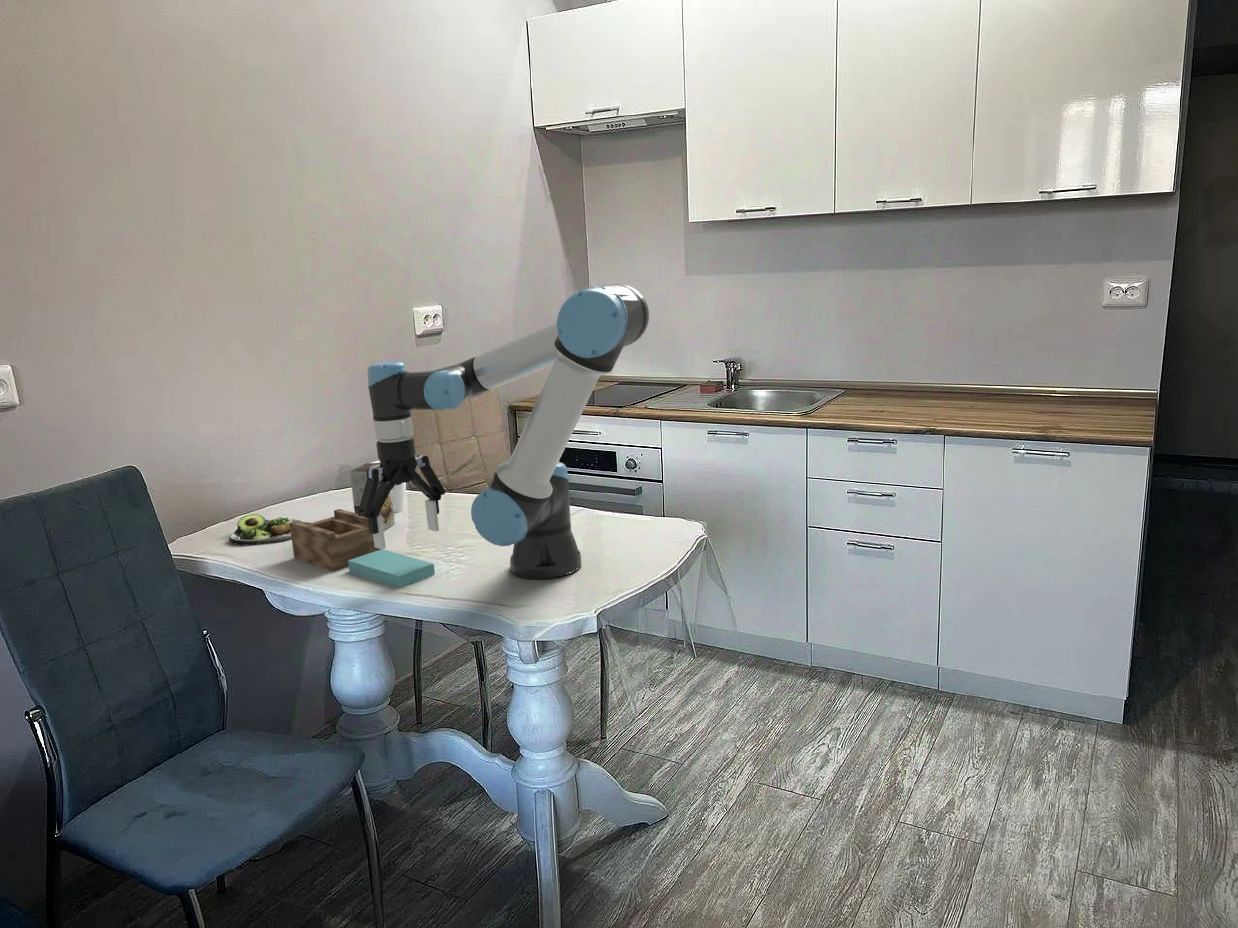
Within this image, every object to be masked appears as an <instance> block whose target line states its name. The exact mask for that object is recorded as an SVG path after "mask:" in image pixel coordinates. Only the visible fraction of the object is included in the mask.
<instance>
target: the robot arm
mask: <svg viewBox="0 0 1238 928" xmlns="http://www.w3.org/2000/svg"><path fill="white" fill-rule="evenodd" d="M556 318H557V319H556V322H553V323H551V324H549V325H546V326H543V327H542V328H539V329H537V330H534V331H532V332H530V333H527V334H525V335H523V336H521V337H518V338H515V339H513V340H511V341H509V342H506V343H504V344H502V345H500V346H497V347H495V348H493V349H490V350H488V351H486V352H483V353H481V354H479V355H476V356H473V357H471V358H469V359H467V360H463V361H461V362H460V363H456V364H453V365H449V366H444V367H441V368H437V369H434V370H428V371H427V370H426V371H414V372H413V371H407V368H406V365H405V363H404V362H403V361H384V362H383V361H382V362H378V363H373V364H371V365H369V366H368V368H367V381H368V385H367V388H368V391H369V393H368V394H369V398H370V402H371V403H370V404H371V409H372V420H373V427H374V435H375V439H376V440H378V441H377V442H376V450H377V452H376V453H377V458H378V461H379V460H380V467H379V468H368V469H367V480H366V484H365V488H364V492H363V495H362V499H361V503H360V506H359V510H358V516H361V517H365V518H367V519H368V524H369V531H370V533H372V534H373V538H374V545H375V547H376V548H380V549H384V550H386V547H387V546H386V541H385V533H384V531H383V524H382V517H378V515H379V513H380V511H381V509H382V507H383V505H384V503H385V501H386V499H387V497H388V495H389V493H390V491H391V489H393V488H394V486H395V485H400V484H402V483H406V484H407V483H410V482H411V484H413V485H414V486H415V487H416V488H417V489H418V490H419V491H420V492H422V494H423V495H424V496H425V497H427V499H424V503H425V513H426V515H425V516H426V523H427V527H428V528H427V530H429V531H433V532H438V531H440V529H439V528H440V526H439V517H438V515H439V514H440V507H439V501H441V500H442V495H443V496H444V495H445V494H446V489H445V488H444V486H443V484H442V483H441V482H440V480H439V477H438V476H437V474H436V473H435V471H434V469H433V468H432V466H431V462H430V459H429V456H428V455H423V454H418V455H416V454H417V452H416V445H415V438H414V437H412V436H413V435H414V427H413V420H412V414H411V413H412V411H414V410H417V411H418V410H419V411H420V410H421V411H422V410H423V411H426V410H427V411H428V410H430V411H431V410H432V411H435V410H436V411H439V412H441V411H445V410H455V409H457V408H459V406H460V405H461V403H463V402H464V401H465V400H468V399H474V398H477V397H480V396H481V395H483V394H484V393H486V392H488V391H490V390H494V389H497V388H498V387H501V386H503V385H506V384H508V383H510V382H511V383H512V382H513V381H516V380H518V379H520V378H523V377H526V376H528V375H531V374H533V373H535V372H539V371H541V370H543V369H546V368H549V367H551V366H552V367H551V369H550V371H549V374H548V375H547V377H546V380H545V382H544V384H543V386H542V389H541V391H540V393H539V395H538V397H537V399H536V400H535V401H536V402H535V404H534V406H533V408H532V410H531V413H530V414H529V417H528V419H527V421H526V423H525V425H524V428H523V429H522V432H521V434H520V436H519V439H518V440H517V443H516V445H515V447H514V449H513V451H512V454H511V456H510V458H509V459H508V460H509V461H506V462H503V463H500V464H499V465H498V466H497V468H496V470H495V472H494V474H493V476H492V478H491V481H490V483H489V484H488V487H487V488H486V489H484V490H482V491H481V492H479V494H478V495H477V496H476V497H475V498H474V500H473V501H472V504H471V509H470V511H471V512H470V513H471V514H470V516H471V520H472V522H473V524H474V526H475V529H476V531H477V533H478V534H479V536H480V537H482V538H483V539H484V540H485V541H486V542H488V543H489V544H490V543H491V544H492V545H495V546H498V547H509V546H512V545H513V548H512V549H513V550H512V554H511V556H510V558H509V563H510V565H509V566H510V567H509V569H510V573H512V575H515V576H517V577H520V578H523V579H529V580H542V579H543V580H545V578H548V579H553V577H556V578H559V577H558V576H561V575H565V574H567V573H569V572H572V571H574V570H576V569H577V568H579V567H580V565H581V563H582V554H581V552H580V550H579V548H578V545H577V542H576V540H575V537H574V534H573V532H572V522H571V508H570V507H571V504H570V503H571V501H570V488H569V487H570V486H569V481H570V480H569V479H570V478H569V475H568V468H567V466H566V464H565V463H564V462H560V459H561V458H562V455H563V454H564V452H565V449H566V448H567V445H568V443H569V440H570V439H571V437H572V434H573V433H574V431H575V428H576V426H577V424H578V422H579V420H580V419H581V416H582V414H583V413H584V412H583V411H584V410H585V408H586V406H587V404H588V401H590V400H589V399H590V397H591V395H592V393H593V392H594V389H595V387H596V385H597V384H598V381H599V378H600V377H601V376H604V375H608V374H610V373H612V371H613V369H614V367H615V365H616V363H617V361H618V359H619V358H620V355H621V353H622V351H623V349H624V347H627V346H630V345H632V344H634V343H635V342H637V341H638V340H639V339H641V337H642V336H643V335H644V334H645V332H646V330H647V328H648V325H649V321H650V310H649V305H648V304H647V302H646V299H645V297H644V296H643V295H642V294H641V293H640V292H639V291H638V290H637V289H635V288H634V287H632V286H629V285H627V284H621V283H617V284H615V283H613V284H609V285H602V286H589V287H586V288H582V289H581V290H578V291H577V292H575V293H573V294H572V295H570V296H569V297H568V298H567V299H566V300H565V301H564V302H563V303H562V305H561V307H560V309H559V311H558V314H557V317H556ZM415 455H416V457H415ZM417 467H418V468H419V470H420V472H421V474H422V475H423V477H424V478H425V480H426V481H427V482H426V481H425V480H424V479H422V476H421V475H420V474H419V473H418V472H417V471H416V469H417ZM381 475H382V476H383V477H382V479H381V481H380V483H379V485H380V486H379V488H378V490H377V487H378V482H379V478H380V477H381ZM387 481H388V482H389V483H387ZM376 490H377V492H376ZM581 566H582V565H581ZM580 568H581V567H580ZM580 568H579V569H580ZM565 576H566V575H565ZM561 577H562V576H561Z"/></svg>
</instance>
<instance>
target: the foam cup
mask: <svg viewBox="0 0 1238 928" xmlns="http://www.w3.org/2000/svg"><path fill="white" fill-rule="evenodd" d="M371 463H380V460H379V459H378V460H376V461H372V462H371ZM406 487H407V483H402V484H400V485H395V486H394V488H393V489H391V491H392V501H393V510H394V514H395V513H400V512H403V511H404V510H405V509H406V493H407V490H406V489H407V488H406Z"/></svg>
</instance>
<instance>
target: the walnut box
mask: <svg viewBox="0 0 1238 928" xmlns="http://www.w3.org/2000/svg"><path fill="white" fill-rule="evenodd" d="M309 523H310V524H304V523H301V522H297V521H294V522H290V531H291V543H292V552H293V558H294V559H295V560H298V561H302V562H305V563H308V564H311V565H314V566H316V567H320V568H322V569H326V570H329V571H331V572H336V571H339V570H342V569H344V568H349V565H348V560H351V559H354V558H357V557H360V556H363V555H366V554H369V553H372V552H375V551H378V550H381V549H380V548H376V547H375V545H374V538H373V534H372V533H370V531H369V524H368V519H367V518H365V517H361V516H358V514H357V513H355V512H354V511H349V510H345V509H341V508H338V509H334V510H333V516H332V517H328V518H325V519H322V520H317V521H314V522H309Z"/></svg>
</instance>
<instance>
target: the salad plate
mask: <svg viewBox="0 0 1238 928" xmlns="http://www.w3.org/2000/svg"><path fill="white" fill-rule="evenodd" d="M294 521H297V522H301V523H304V524H310V523H311V522H308V521H303V520H301V519H297V518H296V519H294V518H291V519H290V518H289V517H281V516H280V517H278V518H274V519H271V520H270V519H265V517H264V516H262V515H260V514H257V513H251V514H245V515H244V516H242V517H241V518H240V519H239V520H238V522H237V523H236V524H237V529H235V531H234V532H233V533H232V534H231V535H230V537H229V541H230V542H231V543H233V544H234V543H236V544H235V545H238V544H252V545H258V544H257V543H261V544H269V542H270V543H275V542H282V541H286V540H287V541H288V540H292V538H291V531H290V522H294ZM283 534H287V535H283ZM277 535H281V536H277ZM272 536H274V537H272ZM239 537H240V539H239ZM270 537H271V538H270ZM268 538H269V539H268Z"/></svg>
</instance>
